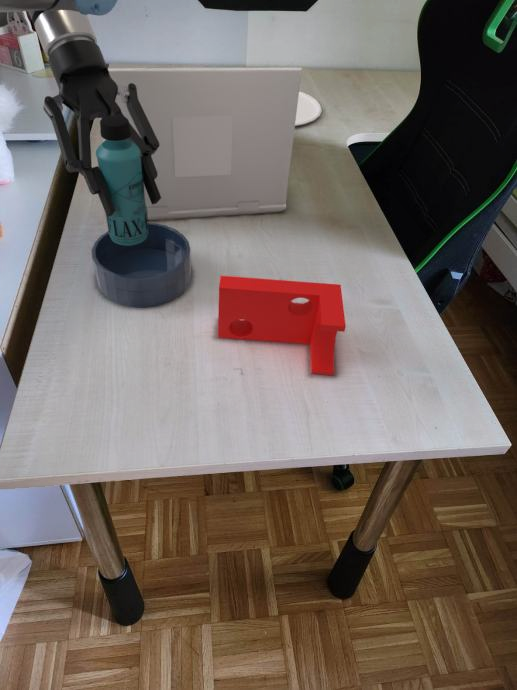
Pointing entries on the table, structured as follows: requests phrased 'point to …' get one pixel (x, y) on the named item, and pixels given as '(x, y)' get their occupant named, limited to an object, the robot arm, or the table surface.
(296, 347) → the table surface
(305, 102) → the plate
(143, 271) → the bowl
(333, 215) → the table surface
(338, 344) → the table surface
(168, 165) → the laptop
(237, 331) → the bracket
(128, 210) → the beverage bottle
